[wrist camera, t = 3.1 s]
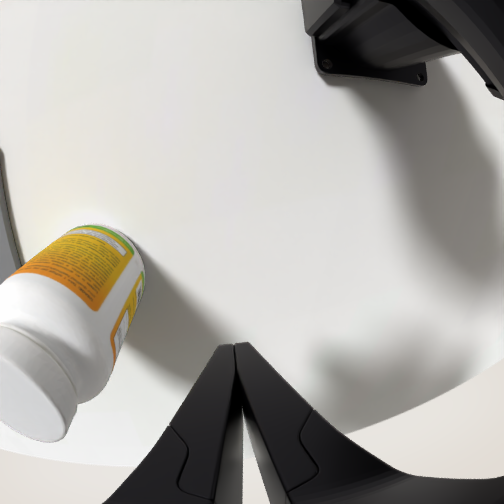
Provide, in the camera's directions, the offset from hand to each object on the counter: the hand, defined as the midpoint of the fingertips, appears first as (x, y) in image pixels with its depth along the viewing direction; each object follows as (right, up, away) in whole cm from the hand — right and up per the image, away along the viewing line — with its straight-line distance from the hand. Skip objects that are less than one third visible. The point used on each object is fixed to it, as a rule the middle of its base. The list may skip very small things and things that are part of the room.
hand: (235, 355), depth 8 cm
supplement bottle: (-8, +2, +7) cm, 10 cm away
